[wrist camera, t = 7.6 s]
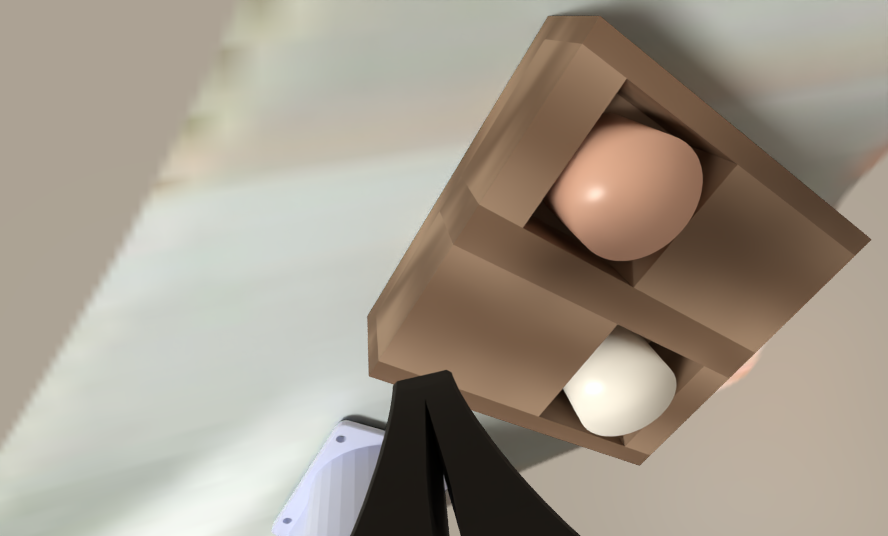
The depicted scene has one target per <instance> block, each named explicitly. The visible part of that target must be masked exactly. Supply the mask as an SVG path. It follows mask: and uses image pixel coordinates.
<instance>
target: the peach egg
mask: <svg viewBox="0 0 888 536" xmlns="http://www.w3.org/2000/svg"><path fill="white" fill-rule="evenodd" d="M702 184H703V174H702V168H701V165H700V161H699V159H698V157H697V155H696V153H695V152H694V151H693V149H692V148H691V147H690V146H689V145H688V144H687V143H686V142H684V141H683V140H681V139H679V138H677V137H674V136H672V135H669V134H667V133H664V132H661V131H659V130H656V129H654V128H651V127H648V126H646V125H643V124H641V123H638V122H635V121H633V120H630V119H627V118H625V117H622V116H620V115H616V114H612V113H602V115H601V116H600V118H599V119H598V121H597V122H596V123H595V125H594V126H593V128H592V129H591V131H590V132H589V134H588V135H587V136H586V138H585V139H584V141H583V142H582V144H581V145H580V146H579V148H578V149H577V151H576V152H575V154H574V155H573V157H572V158H571V159H570V161H569V162H568V164H567V165H566V167H565V168H564V169H563V171H562V172H561V174H560V175H559V177H558V178H557V180H556V181H555V182H554V184H553V185H552V187H551V188H550V190H549V191H548V192H547V194H546V195H545V197H544V198H543V200H544V202H545V204H546V205H547V207H548V208H549V209H550V210H551V211H552V212H553V213H554V214H555V215H556V216H557V217H558V218H559V219H560V220H561V221H562V223H563V224H564V225H565V226H566V227H567V228H568V229H569V230H570V231H571V232H572V233H573V234H574V235H575V236H576V237H577V238H578V239H579V240H580V241H581V242H582V243H583V244H584V245H585V246H586V247H587V248H588V249H589V250H590V251H591V252H593V253H594V254H596V255H598V256H600V257H602V258H605V259H608V260H614V261H629V260H635V259H639V258H642V257H645V256H648V255H650V254H652V253H654V252H656V251H658V250H659V249H661V248H663V247H664V246H666V245H667V244H668V243H670V242H671V241H672V240H673V239H674V238H675V237H676V236H677V235H678V234H679V233H680V232H681V231H682V230H683V229H684V227H685V226H686V225H687V224H688V222H689V221H690V219H691V217H692V216H693V214H694V212H695V210H696V208H697V205H698V202H699V200H700V196H701V192H702Z"/></svg>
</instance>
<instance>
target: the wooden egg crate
mask: <svg viewBox="0 0 888 536" xmlns="http://www.w3.org/2000/svg"><path fill="white" fill-rule="evenodd" d="M602 113H612V114H616V115H620V116H622V117H625V118H627V119H630V120H633V121H635V122H638V123H641V124H643V125H646V126H648V127H651V128H654V129H656V130H659V131H661V132H664V133H667V134H669V135H672V136H674V137H677V138H679V139H681V140H683V141H684V142H686V143H687V144H688V145H689V146H690V147H691V148H692V149H693V151H694V152H695V153H696V155H697V157H698V159H699V161H700V165H701V168H702V174H703V184H702V192H701V196H700V200H699V202H698V205H697V208H696V210H695V212H694V214H693V216H692V217H691V219H690V221H689V222H688V224H687V225H686V226H685V227H684V229H683V230H682V231H681V232H680V233H679V234H678V235H677V236H676V237H675V238H674V239H673V240H672V241H671V242H670V243H668V244H667V245H666V246H664V247H663V248H661V249H659V250H658V251H656V252H654V253H652V254H650V255H648V256H645V257H642V258H639V259H635V260H629V261H614V260H608V259H605V258H602V257H600V256H598V255H596V254H594V253H593V252H591V251H590V250H589V249H588V248H587V247H586V246H585V245H584V244H583V243H582V242H581V241H580V240H579V239H578V238H577V237H576V236H575V235H574V234H573V233H572V232H571V231H570V230H569V229H568V228H567V227H566V226H565V225H564V224H563V223H562V221H561V220H560V219H559V218H558V217H557V216H556V215H555V214H554V213H553V212H552V211H551V210H550V209H549V208H548V207H547V205H546V204H545V202H544V200H543V198H544V197H545V195H546V194H547V192H548V191H549V190H550V188H551V187H552V185H553V184H554V182H555V181H556V180H557V178H558V177H559V175H560V174H561V172H562V171H563V169H564V168H565V167H566V165H567V164H568V162H569V161H570V159H571V158H572V157H573V155H574V154H575V152H576V151H577V149H578V148H579V146H580V145H581V144H582V142H583V141H584V139H585V138H586V136H587V135H588V134H589V132H590V131H591V129H592V128H593V126H594V125H595V123H596V122H597V121H598V119H599V118H600V116H601V115H602ZM870 241H871V239H870V238H869V237H868V236H867V235H865V234H864V233H863V232H862V231H861V230H859V229H858V228H857V227H856V226H854V225H853V224H852V223H851V222H850V221H848V220H847V219H846V218H845V217H844V216H842V215H841V214H840V213H839V212H837V211H836V210H835V209H834V208H833V207H831V206H830V205H829V204H828V203H827V202H825V201H824V200H823V199H822V198H820V197H819V196H818V195H817V194H816V193H814V192H813V191H812V190H811V189H810V188H808V187H807V186H806V185H805V184H803V183H802V182H801V181H800V180H799V179H797V178H796V177H795V176H794V175H793V174H791V173H790V172H789V171H788V170H786V169H785V168H784V167H783V166H782V165H780V164H779V163H778V162H777V161H776V160H774V159H773V158H772V157H771V156H769V155H768V154H767V153H766V152H765V151H763V150H762V149H761V148H760V147H759V146H757V145H756V144H755V143H754V142H752V141H751V140H750V139H749V138H748V137H746V136H745V135H744V134H743V133H742V132H740V131H739V130H738V129H737V128H735V127H734V126H733V125H732V124H731V123H729V122H728V121H727V120H726V119H725V118H723V117H722V116H721V115H720V114H718V113H717V112H716V111H715V110H714V109H712V108H711V107H710V106H709V105H708V104H706V103H705V102H704V101H703V100H701V99H700V98H699V97H698V96H697V95H695V94H694V93H693V92H692V91H691V90H689V89H688V88H687V87H686V86H684V85H683V84H682V83H681V82H680V81H678V80H677V79H676V78H675V77H674V76H672V75H671V74H670V73H669V72H667V71H666V70H665V69H664V68H663V67H661V66H660V65H659V64H658V63H657V62H655V61H654V60H653V59H652V58H650V57H649V56H648V55H647V54H646V53H644V52H643V51H642V50H641V49H640V48H638V47H637V46H636V45H635V44H633V43H632V42H631V41H630V40H629V39H627V38H626V37H625V36H624V35H623V34H621V33H620V32H619V31H618V30H616V29H615V28H614V27H613V26H612V25H610V24H609V23H608V22H607V21H606V20H604V19H603V18H602V17H601V16H548V17H547V19H546V21H545V22H544V24H543V26H542V27H541V29H540V31H539V32H538V34H537V35H536V37H535V39H534V40H533V42H532V44H531V45H530V47H529V49H528V50H527V52H526V54H525V55H524V57H523V59H522V60H521V62H520V64H519V65H518V67H517V69H516V70H515V72H514V74H513V75H512V77H511V79H510V80H509V82H508V84H507V85H506V87H505V89H504V90H503V92H502V94H501V95H500V97H499V99H498V100H497V102H496V104H495V105H494V107H493V109H492V110H491V112H490V114H489V115H488V117H487V119H486V120H485V122H484V123H483V125H482V127H481V128H480V130H479V132H478V133H477V135H476V137H475V138H474V140H473V142H472V143H471V145H470V147H469V148H468V150H467V152H466V153H465V155H464V157H463V158H462V160H461V162H460V163H459V165H458V167H457V168H456V170H455V172H454V173H453V175H452V177H451V178H450V180H449V182H448V183H447V185H446V187H445V188H444V190H443V192H442V193H441V195H440V197H439V198H438V200H437V202H436V203H435V205H434V207H433V208H432V210H431V212H430V213H429V215H428V216H427V218H426V220H425V221H424V223H423V225H422V226H421V228H420V230H419V231H418V233H417V235H416V236H415V238H414V240H413V241H412V243H411V245H410V246H409V248H408V250H407V251H406V253H405V255H404V256H403V258H402V260H401V261H400V263H399V265H398V266H397V268H396V270H395V271H394V273H393V275H392V276H391V278H390V280H389V281H388V283H387V285H386V286H385V288H384V290H383V291H382V293H381V295H380V296H379V298H378V300H377V301H376V303H375V305H374V306H373V308H372V309H371V311H370V313H369V314H368V316H367V321H368V361H369V376H370V377H373V378H376V379H379V380H382V381H385V382H388V383H391V384H395V383H396V382H397V381H400V380H404V379H409V378H413V377H417V376H422V375H426V374H430V373H435V372H439V371H443V370H448V371H450V372H452V375H453V377H454V380H455V382H456V384H457V386H458V388H459V390H460V392H461V394H462V396H463V397H464V399H465V401H466V402H467V404H468V406H469V407H470V409H471V410H473V411H476V412H479V413H482V414H485V415H488V416H491V417H494V418H497V419H500V420H503V421H506V422H509V423H512V424H515V425H518V426H521V427H524V428H527V429H530V430H533V431H536V432H539V433H542V434H545V435H549V436H552V437H555V438H558V439H561V440H564V441H567V442H570V443H573V444H576V445H579V446H582V447H585V448H588V449H591V450H594V451H597V452H600V453H603V454H606V455H609V456H612V457H616V458H618V459H621V460H624V461H627V462H630V463H633V464H636V465H641V464H642V463H643V462H644V461H645V460H646V459H647V458H648V457H649V456H650V455H651V454H652V453H653V452H654V451H655V450H656V449H657V448H658V447H659V446H660V445H661V444H662V443H663V442H664V441H665V440H666V439H667V438H668V437H669V436H670V435H671V434H672V433H674V431H676V430H677V428H678V427H680V426H681V424H683V423H684V422H685V421H686V420H687V419H688V418H689V417H690V416H691V415H692V414H693V413H694V412H695V411H696V410H697V409H698V408H699V407H700V406H701V405H702V404H703V403H704V402H705V401H706V400H707V399H708V398H709V397H710V396H711V395H713V394H714V393H715V392H716V391H717V390H718V389H719V388H720V387H721V386H722V385H723V384H724V383H725V382H726V381H727V380H728V379H729V378H730V377H731V376H732V375H733V374H734V373H735V372H736V371H737V370H738V369H739V368H740V367H741V366H742V365H743V364H744V363H745V362H746V361H747V360H748V359H749V358H750V357H752V356H753V355H754V354H755V353H756V352H757V351H758V350H759V349H760V348H761V347H762V346H763V345H764V344H765V343H766V342H767V341H768V340H769V339H770V338H771V337H772V336H773V335H774V334H775V333H776V332H777V331H778V330H779V329H780V328H781V327H782V326H783V325H784V324H785V323H786V322H787V321H788V320H789V319H791V318H792V317H793V316H794V315H795V314H796V313H797V312H798V311H799V310H800V309H801V308H802V307H803V306H804V305H805V304H806V303H807V302H808V301H809V300H810V299H811V298H812V297H813V296H814V295H815V294H816V293H817V292H818V291H819V290H820V289H821V288H822V287H823V286H824V285H825V284H826V283H827V282H828V281H830V280H831V278H833V276H835V274H837V273H838V272H839V271H840V270H841V269H842V268H843V267H844V266H845V265H846V264H847V263H848V262H849V261H850V260H851V259H852V258H853V257H854V256H855V255H856V254H857V253H858V252H859V251H860V250H861V249H862V248H863V247H864V246H865V245H866V244H867V243H868V242H870ZM617 325H620V326H622V327H624V328H626V329H628V330H630V331H632V332H635V333H637V334H639V335H641V336H642V337H643V338H644V340H645V341H646V342H647V343H648V344H649V345H650V346H651V347H652V349H653V350H654V351H655V352H656V353H657V354H658V355H659V357H660V358H661V359H662V360H663V361H664V362H665V363H666V364H667V366H668V367H669V368H670V369H671V370H672V372H673V373H674V375H675V378H676V391H675V395H674V397H673V400H672V401H671V403H670V405H669V406H668V407H667V409H666V410H665V411H664V412H663V413H662V414H661V415H660V416H659V417H658V418H657V419H656V420H654V421H653V422H652V423H650V424H649V425H647V426H645V427H643V428H642V429H639V430H637V431H635V432H632V433H629V434H625V435H620V436H601V435H597V434H594V433H592V432H590V431H589V430H587V429H586V428H585V427H584V426H583V424H582V423H581V421H580V419H579V417H578V415H577V414H576V412H575V410H574V408H573V406H572V404H571V403H570V401H569V399H568V397H567V395H566V393H565V392H564V390H563V388H564V387H565V385H566V384H567V383H568V382H569V381H570V380H571V378H572V377H573V376H574V375H575V374H576V373H577V371H578V370H579V369H580V368H581V367H582V366H583V364H584V363H585V362H586V361H587V360H588V359H589V357H590V356H591V355H592V354H593V353H594V352H595V350H596V349H597V348H598V347H599V346H600V345H601V343H602V342H603V341H604V340H605V339H606V338H607V336H608V335H609V334H610V333H611V332H612V331H613V329H614V328H615V327H616V326H617Z"/></svg>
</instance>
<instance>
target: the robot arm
mask: <svg viewBox="0 0 888 536" xmlns="http://www.w3.org/2000/svg"><path fill="white" fill-rule="evenodd" d="M340 435H342V437H341V436H340ZM447 489H448V492H449V496H450V499H451V503H452V506H453V510H454V513H455V516H456V520H457V524H458V527H459V531H460V535H461V536H580V535H579V534H578V533H577V532H576V531H575V530H574V529H572V528H571V527H570V526H569V525H568V524H567V523H566V522H565V521H564V520H563V519H562V518H561V517H560V516H559V515H558V514H557V513H556V512H555V511H554V510H553V509H552V508H551V507H550V506H549V505H548V504H547V503H546V502H545V501H544V500H543V499H542V498H541V497H540V496H539V495H538V494H537V493H536V491H535V490H534V489H533V488H532V487H531V486H530V485H529V484H528V483H527V482H526V481H525V479H524V478H523V477H522V476H521V475H520V474H519V473H518V471H517V470H516V469H515V468H514V467H513V466H512V464H511V463H510V462H509V461H508V459H507V458H506V457H505V456H504V455H503V453H502V452H501V451H500V450H499V448H498V447H497V446H496V444H495V443H494V442H493V440H492V439H491V438H490V436H489V435H488V434H487V432H486V431H485V429H484V428H483V427H482V425H481V424H480V422H479V421H478V420H477V418H476V417H475V415H474V414H473V412H472V411H471V409H470V407H469V406H468V404H467V402H466V401H465V399H464V397H463V396H462V394H461V392H460V390H459V388H458V386H457V384H456V382H455V380H454V377H453V375H452V372H450V371H448V370H443V371H439V372H435V373H430V374H426V375H422V376H417V377H413V378H409V379H404V380H400V381H397V382H396V383H395V384H394V385H393V393H392V401H391V407H390V412H389V417H388V422H387V426H386V431H384V430H380V429H377V428H373V427H370V426H366V425H363V424H359V423H356V422H352V421H348V420H344V421H341V422H339V423H338V424H337V425H336V426H335V428H334V429H333V431H332V433H331V434H330V436H329V437H328V439H327V440H326V442H325V444H324V445H323V447H322V448H321V450H320V451H319V453H318V454H317V456H316V458H315V459H314V461H313V462H312V464H311V465H310V467H309V468H308V470H307V472H306V473H305V475H304V476H303V478H302V479H301V481H300V483H299V484H298V486H297V487H296V489H295V490H294V492H293V493H292V495H291V497H290V498H289V500H288V501H287V503H286V504H285V506H284V508H283V509H282V511H281V512H280V514H279V515H278V517H277V518H276V520H275V522H274V523H273V526H272V533H273V534H274V535H276V536H449V527H448V518H447V517H448V516H447V506H446V495H445V491H446V490H447Z"/></svg>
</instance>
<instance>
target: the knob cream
mask: <svg viewBox="0 0 888 536" xmlns="http://www.w3.org/2000/svg"><path fill="white" fill-rule="evenodd" d="M563 390H564V392H565V393H566V395H567V397H568V399H569V401H570V403H571V404H572V406H573V408H574V410H575V412H576V414H577V415H578V417H579V419H580V421H581V423H582V424H583V426H584V427H585V428H586V429H587V430H589V431H590V432H592V433H594V434H597V435H601V436H620V435H625V434H629V433H632V432H635V431H637V430H639V429H642V428H643V427H645V426H647V425H649V424H650V423H652V422H653V421H654V420H656V419H657V418H658V417H659V416H660V415H661V414H662V413H663V412H664V411H665V410H666V409H667V407H668V406H669V405H670V403H671V401H672V400H673V397H674V395H675V391H676V378H675V375H674V373H673V372H672V370H671V369H670V368H669V367H668V366H667V364H666V363H665V362H664V361H663V360H662V359H661V358H660V357H659V355H658V354H657V353H656V352H655V351H654V350H653V349H652V347H651V346H650V345H649V344H648V343H647V342H646V341H645V340H644V338H643V337H642V336H641V335H639V334H637V333H635V332H632V331H630V330H628V329H626V328H624V327H622V326H620V325H617V326H616V327H615V328H614V329H613V331H612V332H611V333H610V334H609V335H608V336H607V338H606V339H605V340H604V341H603V342H602V343H601V345H600V346H599V347H598V348H597V349H596V350H595V352H594V353H593V354H592V355H591V356H590V357H589V359H588V360H587V361H586V362H585V363H584V364H583V366H582V367H581V368H580V369H579V370H578V371H577V373H576V374H575V375H574V376H573V377H572V378H571V380H570V381H569V382H568V383H567V384H566V385H565V387H564V388H563Z"/></svg>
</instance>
